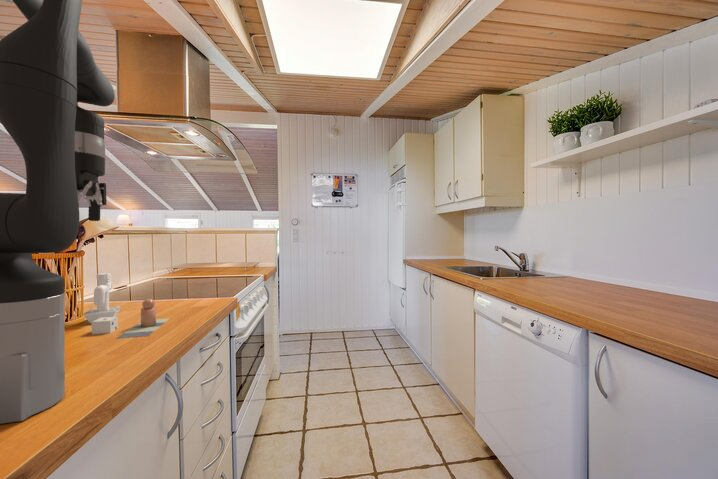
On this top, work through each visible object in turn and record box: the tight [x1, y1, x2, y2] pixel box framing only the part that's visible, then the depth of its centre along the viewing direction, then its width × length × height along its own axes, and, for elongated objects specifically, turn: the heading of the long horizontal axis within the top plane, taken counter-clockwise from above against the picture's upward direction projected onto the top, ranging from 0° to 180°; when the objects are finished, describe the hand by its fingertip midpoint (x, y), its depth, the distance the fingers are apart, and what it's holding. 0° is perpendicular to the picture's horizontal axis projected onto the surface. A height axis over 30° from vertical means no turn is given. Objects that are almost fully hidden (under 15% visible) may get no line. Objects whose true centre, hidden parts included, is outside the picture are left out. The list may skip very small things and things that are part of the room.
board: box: [115, 318, 170, 340], centre depth 81 cm, size 16×7×1 cm, turn 17°
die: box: [91, 316, 119, 335], centre depth 77 cm, size 4×4×4 cm
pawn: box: [140, 298, 157, 327], centre depth 82 cm, size 4×4×8 cm
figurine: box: [83, 272, 122, 325], centre depth 87 cm, size 7×9×15 cm
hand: (83, 219), depth 70 cm, fingers open, 8 cm apart
